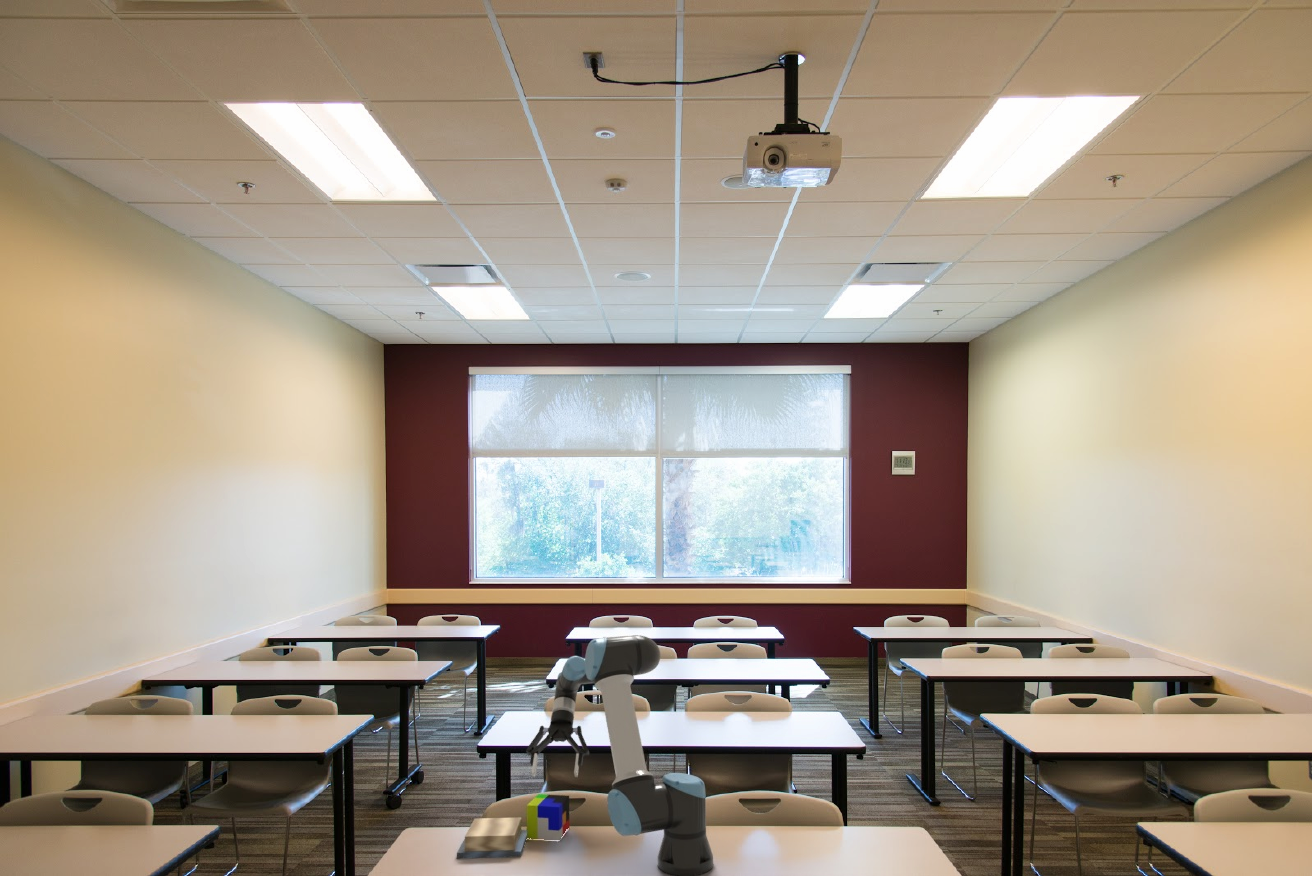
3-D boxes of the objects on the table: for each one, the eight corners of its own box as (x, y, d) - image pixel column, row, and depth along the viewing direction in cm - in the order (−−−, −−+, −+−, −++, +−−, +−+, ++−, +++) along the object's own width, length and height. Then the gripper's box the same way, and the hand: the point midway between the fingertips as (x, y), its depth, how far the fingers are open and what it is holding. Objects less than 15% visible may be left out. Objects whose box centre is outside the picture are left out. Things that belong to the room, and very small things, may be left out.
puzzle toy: (559, 842, 236) (558, 807, 237) (526, 840, 238) (526, 805, 239) (569, 829, 246) (569, 795, 247) (538, 827, 248) (538, 794, 249)
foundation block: (528, 835, 242) (528, 816, 242) (520, 857, 226) (520, 836, 226) (468, 836, 241) (468, 817, 242) (456, 858, 225) (456, 838, 226)
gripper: (600, 720, 271) (594, 781, 255) (528, 720, 273) (517, 780, 257) (598, 708, 267) (592, 768, 250) (524, 708, 268) (513, 768, 252)
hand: (554, 775), depth 253 cm, fingers open, 13 cm apart
